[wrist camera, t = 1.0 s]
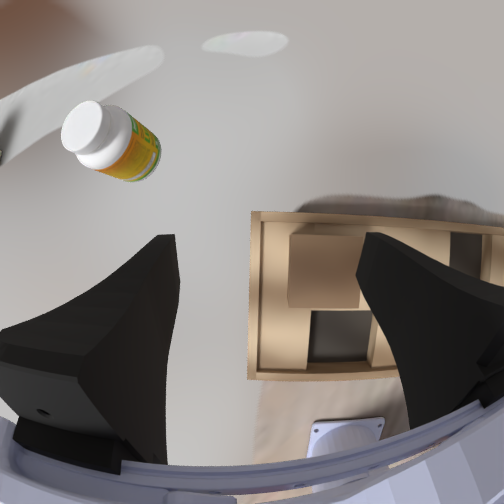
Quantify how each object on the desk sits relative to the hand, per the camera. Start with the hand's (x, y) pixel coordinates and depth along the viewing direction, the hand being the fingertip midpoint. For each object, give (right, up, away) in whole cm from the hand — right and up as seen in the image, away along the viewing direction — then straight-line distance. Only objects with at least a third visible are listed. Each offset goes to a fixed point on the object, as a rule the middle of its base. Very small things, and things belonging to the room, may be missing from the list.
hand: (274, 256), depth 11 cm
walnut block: (+5, -1, +12) cm, 13 cm away
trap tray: (+13, -4, +14) cm, 19 cm away
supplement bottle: (-12, +9, +15) cm, 22 cm away
